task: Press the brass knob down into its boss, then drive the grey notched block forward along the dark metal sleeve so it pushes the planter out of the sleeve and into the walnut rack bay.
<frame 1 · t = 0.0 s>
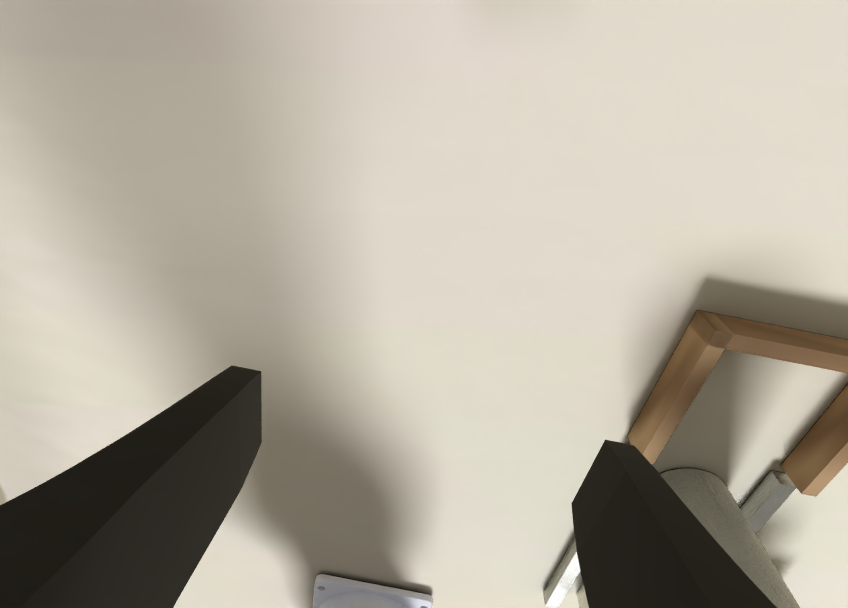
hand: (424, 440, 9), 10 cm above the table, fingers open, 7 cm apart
planter: (678, 493, 24), on the table
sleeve: (649, 541, 25), on the table
rack bay: (745, 402, 20), on the table
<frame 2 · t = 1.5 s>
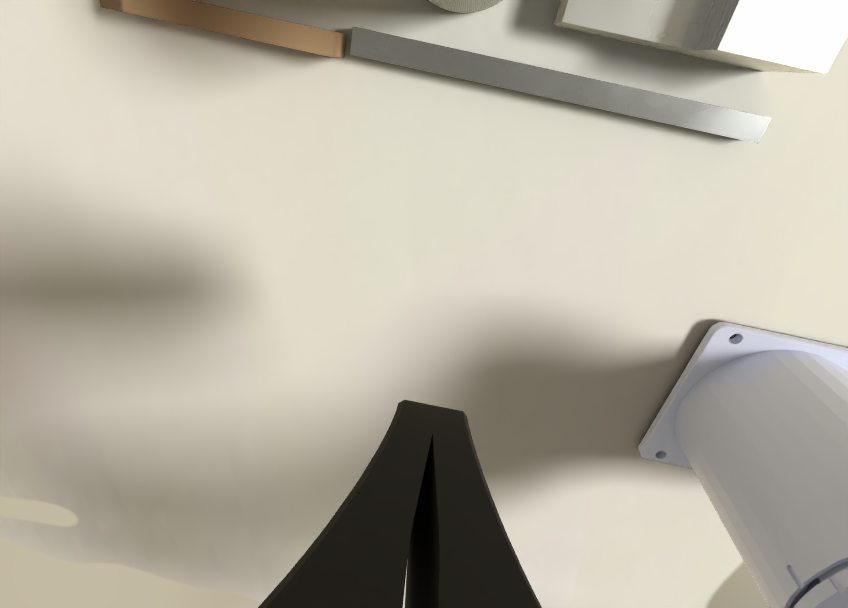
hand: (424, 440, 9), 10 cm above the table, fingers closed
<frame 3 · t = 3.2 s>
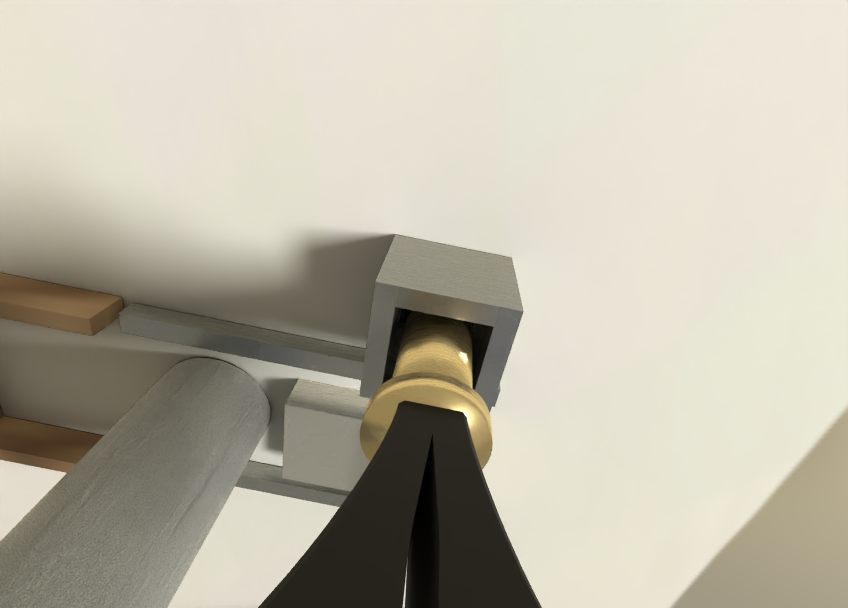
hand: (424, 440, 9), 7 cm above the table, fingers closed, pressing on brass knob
planter: (220, 397, 19), on the table
grey notched block: (379, 430, 19), on the table
brass knob: (433, 375, 11), point 4 cm above the table, slide at 1.0 cm, touching gripper
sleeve: (310, 419, 18), on the table
rack bay: (58, 369, 18), on the table
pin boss: (442, 297, 15), on the table
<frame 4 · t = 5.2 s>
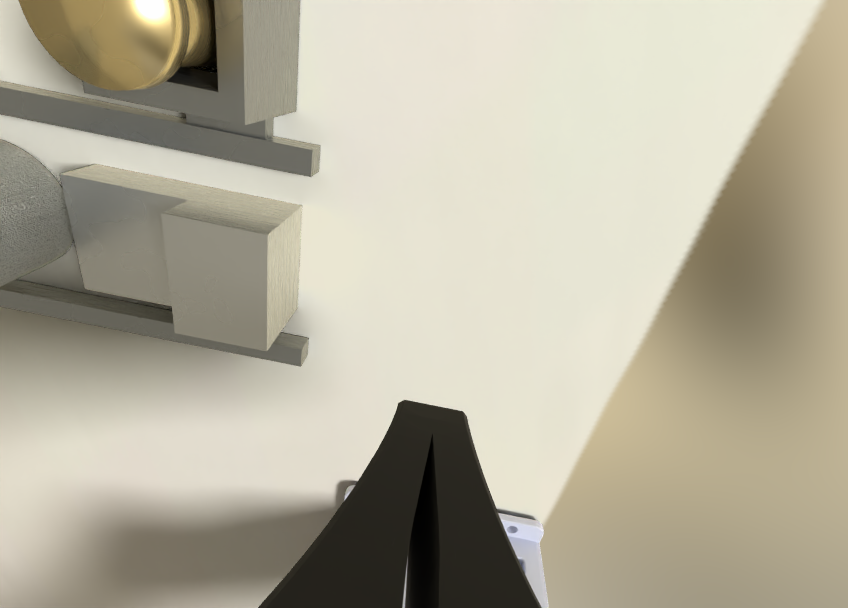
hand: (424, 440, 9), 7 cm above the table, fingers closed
planter: (19, 201, 16), on the table
grey notched block: (204, 239, 16), on the table
brass knob: (169, 15, 10), point 3 cm above the table, slide at 2.3 cm
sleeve: (122, 224, 16), on the table
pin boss: (232, 25, 12), on the table
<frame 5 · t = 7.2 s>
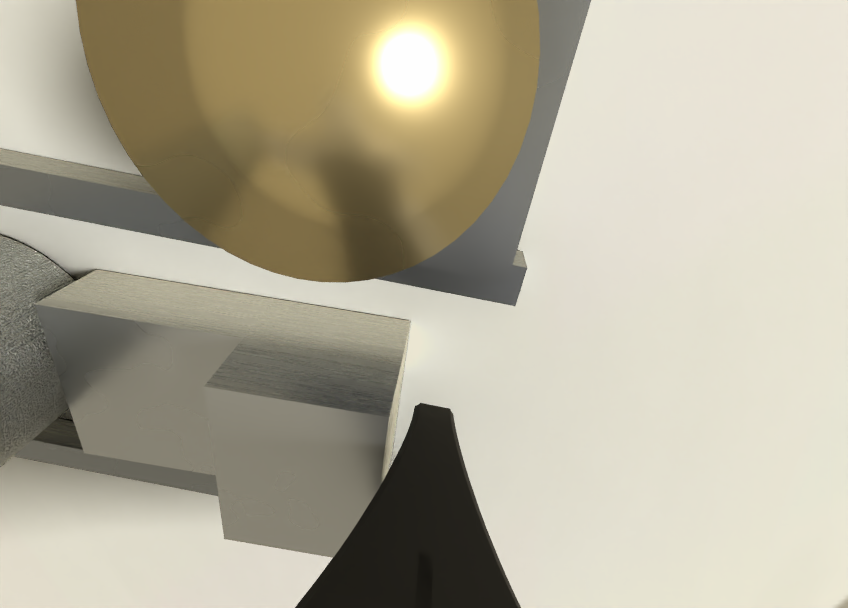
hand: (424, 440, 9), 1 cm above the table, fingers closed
planter: (26, 313, 11), on the table
grey notched block: (257, 367, 11), on the table, touching gripper
brass knob: (375, 70, 5), point 3 cm above the table, slide at 2.3 cm
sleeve: (192, 350, 11), on the table
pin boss: (408, 67, 7), on the table
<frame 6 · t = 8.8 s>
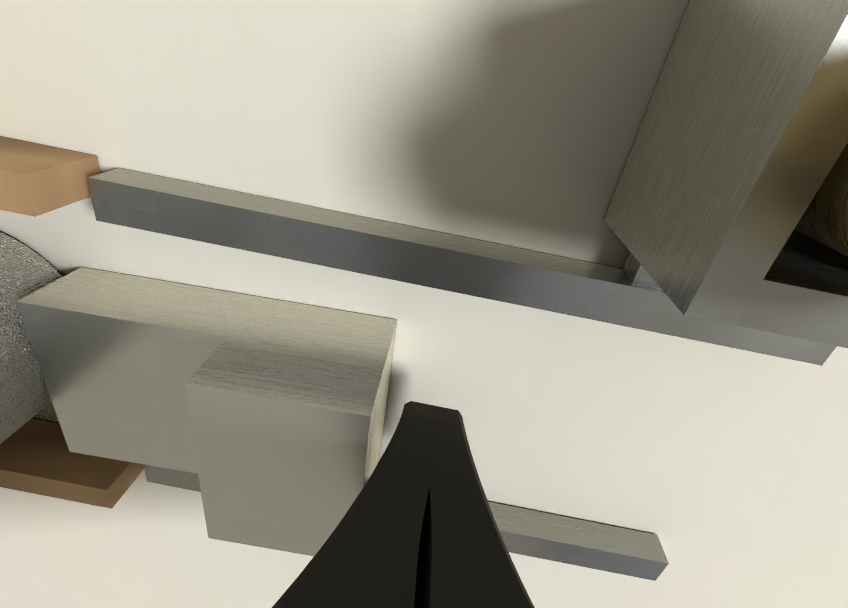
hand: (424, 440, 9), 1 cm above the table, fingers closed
planter: (10, 305, 11), on the table, touching grey notched block
grey notched block: (244, 366, 11), on the table, touching gripper, planter
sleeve: (432, 396, 11), on the table
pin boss: (759, 133, 7), on the table
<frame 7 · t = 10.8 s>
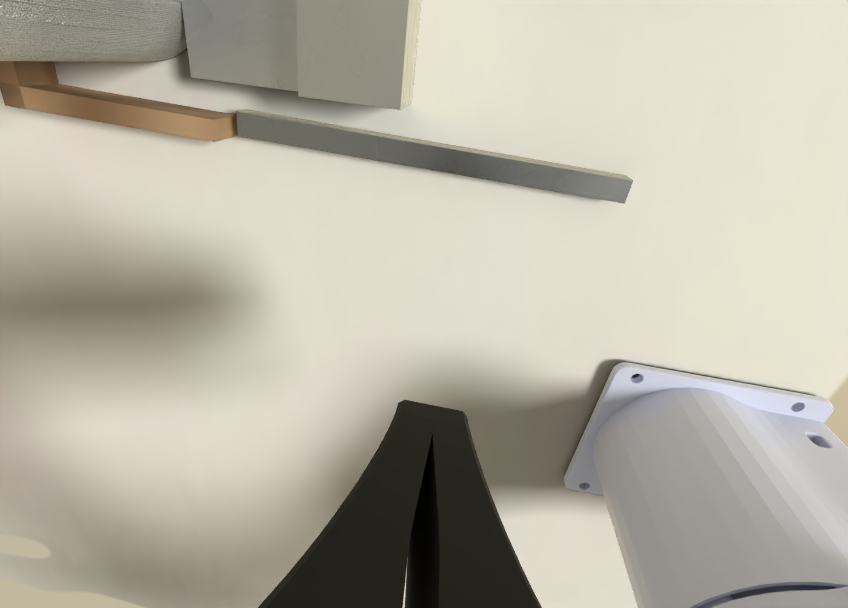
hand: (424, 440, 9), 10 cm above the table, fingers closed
grey notched block: (313, 22, 15), on the table
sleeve: (451, 37, 14), on the table
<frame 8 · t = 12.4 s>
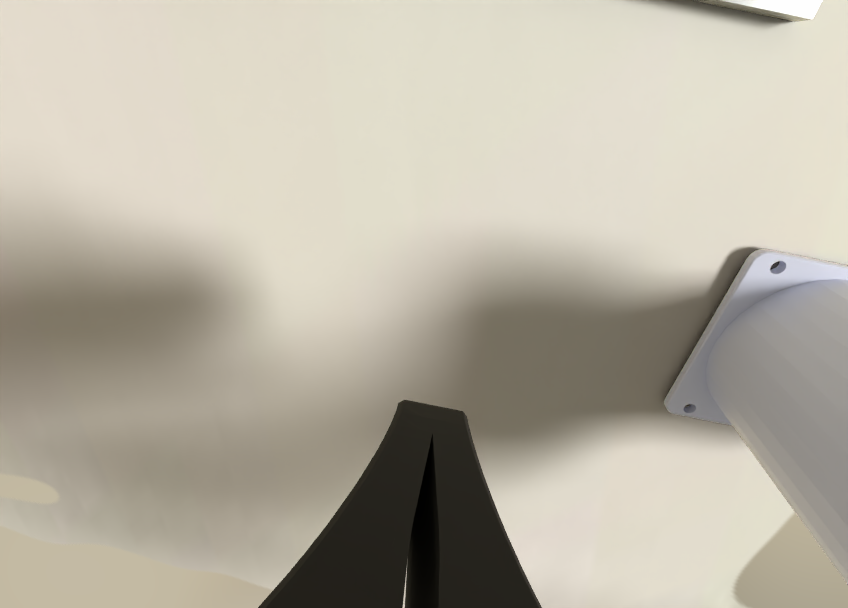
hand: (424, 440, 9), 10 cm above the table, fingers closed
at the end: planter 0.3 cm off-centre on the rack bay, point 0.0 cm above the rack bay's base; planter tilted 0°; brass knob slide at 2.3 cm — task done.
